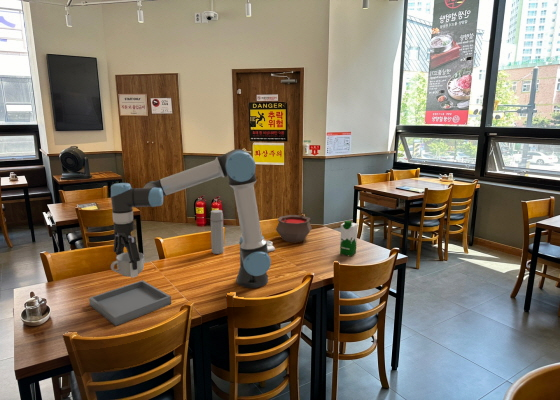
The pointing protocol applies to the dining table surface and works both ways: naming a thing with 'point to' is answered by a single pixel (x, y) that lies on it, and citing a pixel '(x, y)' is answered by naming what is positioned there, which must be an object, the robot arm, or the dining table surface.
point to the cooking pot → (293, 227)
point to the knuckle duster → (270, 246)
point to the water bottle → (217, 232)
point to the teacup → (127, 264)
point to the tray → (129, 302)
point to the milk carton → (348, 238)
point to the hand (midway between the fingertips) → (127, 272)
